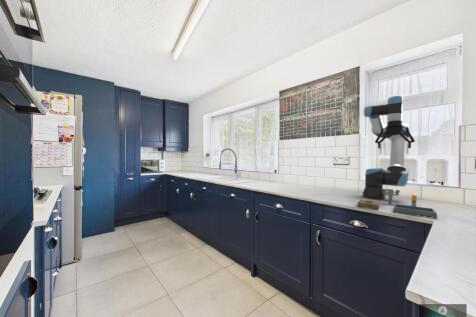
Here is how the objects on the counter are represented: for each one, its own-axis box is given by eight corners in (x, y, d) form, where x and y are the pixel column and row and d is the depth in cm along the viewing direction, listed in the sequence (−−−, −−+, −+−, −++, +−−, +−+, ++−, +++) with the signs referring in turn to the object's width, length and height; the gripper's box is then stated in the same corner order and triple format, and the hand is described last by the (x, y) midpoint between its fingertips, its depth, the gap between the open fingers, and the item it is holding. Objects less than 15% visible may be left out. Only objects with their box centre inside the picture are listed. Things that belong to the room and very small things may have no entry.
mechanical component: (400, 204, 136) (400, 190, 135) (383, 203, 138) (383, 189, 137) (397, 203, 139) (397, 189, 138) (380, 202, 141) (381, 188, 140)
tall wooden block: (410, 210, 119) (411, 194, 119) (415, 211, 118) (416, 194, 117) (411, 212, 115) (411, 195, 115) (416, 213, 114) (417, 195, 113)
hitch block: (359, 203, 138) (360, 199, 138) (379, 206, 131) (379, 201, 131) (357, 206, 129) (357, 202, 129) (378, 209, 122) (378, 205, 122)
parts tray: (393, 208, 126) (394, 203, 126) (433, 213, 115) (433, 208, 115) (393, 212, 118) (394, 207, 118) (436, 218, 106) (436, 213, 106)
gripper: (370, 121, 134) (370, 153, 134) (421, 117, 119) (420, 153, 119) (371, 123, 140) (371, 153, 140) (419, 119, 124) (418, 153, 125)
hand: (393, 153), depth 130 cm, fingers open, 13 cm apart
